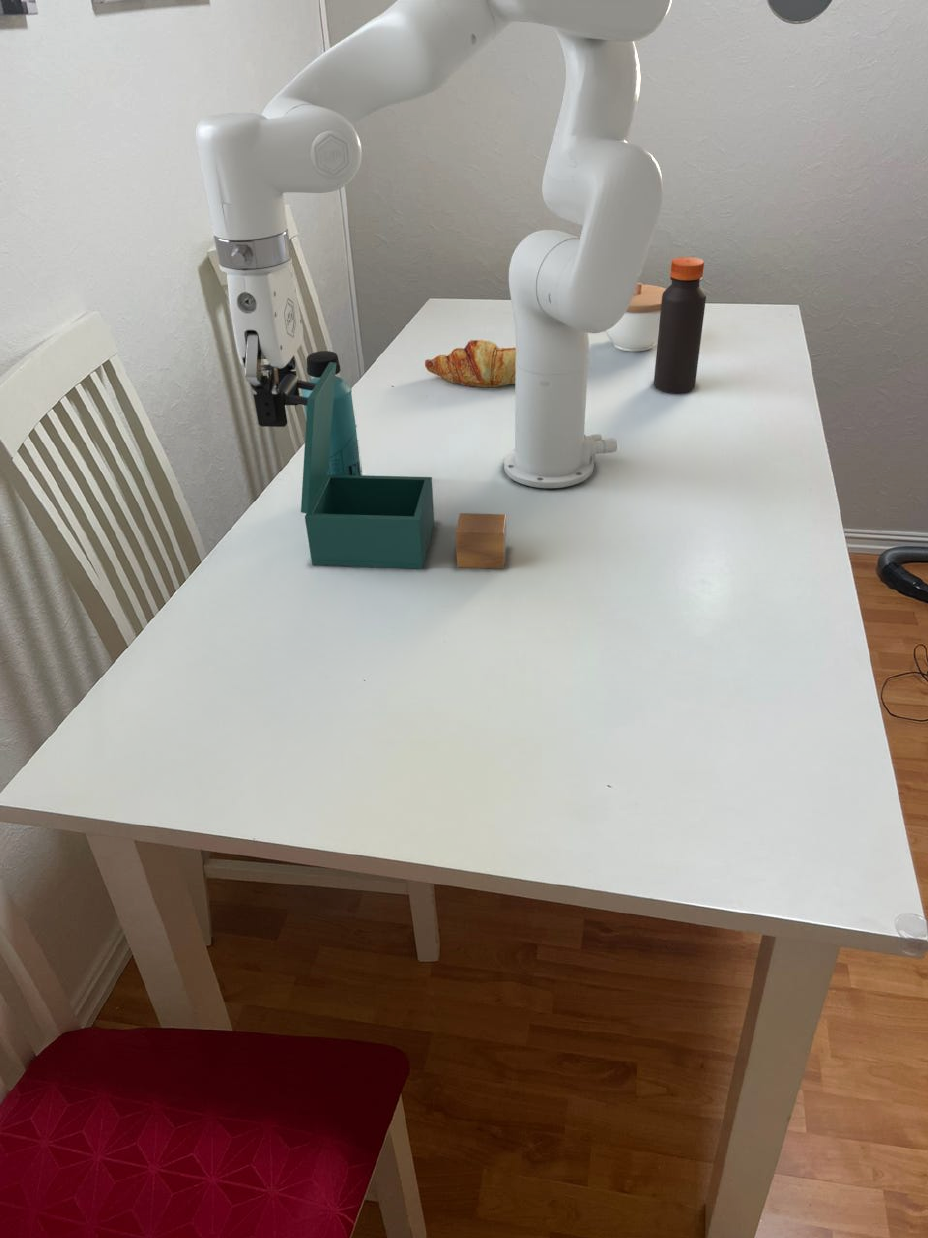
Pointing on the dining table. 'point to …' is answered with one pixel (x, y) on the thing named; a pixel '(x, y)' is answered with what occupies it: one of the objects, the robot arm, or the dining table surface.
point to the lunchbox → (371, 521)
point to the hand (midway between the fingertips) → (280, 413)
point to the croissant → (476, 365)
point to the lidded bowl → (639, 320)
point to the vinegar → (680, 327)
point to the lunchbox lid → (314, 428)
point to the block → (481, 540)
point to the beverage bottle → (337, 418)
